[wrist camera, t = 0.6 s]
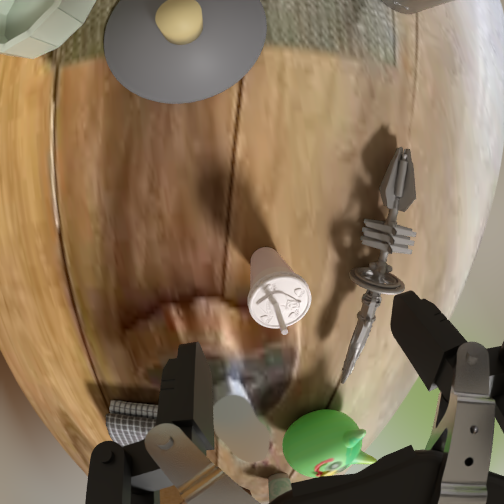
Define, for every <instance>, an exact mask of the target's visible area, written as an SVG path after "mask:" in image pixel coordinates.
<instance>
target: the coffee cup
mask: <svg viewBox="0 0 504 504" xmlns="http://www.w3.org/2000/svg"><path fill="white" fill-rule="evenodd" d="M268 483H269V503H270V502H271V501H272V500H274V499H275V498H276V497H278V496H279V495H281V494H283V493H285V492H287V491H289V490H291V489H292V487H291V482H290V479H289V477H288V474H286V473H278V474H274V475H271V476H270V477H269V478H268Z"/></svg>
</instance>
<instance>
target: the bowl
mask: <svg viewBox="0 0 504 504" xmlns="http://www.w3.org/2000/svg"><path fill="white" fill-rule="evenodd" d="M95 2H96V0H0V54H3V55H8V56H14V57H22V58H29V59H35V58H37V57H39V56H41V55H43V54H45V53H47V52H49V51H52V50H54V49H56V48H58V47H60V46H61V45H62V44H63V43H64V42H65V41H66V40H67V39H68V38H69V37H70V36H71V35H72V34H73V33H74V32H75V31H76V30H77V29H78V28H79V27H81V26H82V25H83V24H82V23H84V22H85V20H86V18H87V16H88V14H89V12H90V11H91V9H92V7H93V5H94V4H95Z"/></svg>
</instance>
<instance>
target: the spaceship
mask: <svg viewBox="0 0 504 504" xmlns="http://www.w3.org/2000/svg"><path fill="white" fill-rule="evenodd" d="M379 190H380V194H381V197H382V201H383V205H384V206H387V208H389V213H388V217H387V219H386V221H385V222H384V221H377V220H371V219H364V223H366V226H367V227H371V228H365V227H363V228H362V232H364V235H365V236H361V238H360V240H363V241H362V244H364V245H367V246H371V247H374V248H378V249H380V256H379V258H378V259H379V260H378V261H377V262H370V263H369V267H361V268H354V269H352V270H351V271H350V272H349V277H350V279H351V280H352V281H353V282H354V283H356V284H357V285H359V286H361V287H363V288H365V289H367V291H366V293H365V294H363V296H362V303H363V305H362V308H361V311H359V312H358V314H357V318H358V321H357V325H356V328H355V330H354V333H353V336H352V339H351V342H350V345H349V348H348V352H347V355H346V359H345V361H344V368H342V370H343V372H342V377H341V378H342V379H341V383H345V381H346V380H347V378H348V376H349V375H350V374H351V372H352V370H353V368H354V366H355V362H356V360H357V359H358V357H359V356H360V353H361V352H362V350H363V348H364V346H365V343H366V340H367V338H368V336H369V333H370V331H371V330H370V329H371V328H372V323H373V322H374V321H375V319H376V317H375V311H376V308H377V307H379V306H380V303H381V297H380V295H381V293H382V294H399V293H401V292H403V291H404V289H405V285H404V283H403V282H402V281H401V280H400V279H398V278H397V277H396V276H395V275H393V274H391V273H389V272H391V271H392V267H391V266H390V265H387V263H386V261H387V256H388V254H390V253H391V254H392V252H396V253H404V254H412V250H410V249H408V245H412V246H414V241H411V240H410V237H407V236H412V237H416V232H412V229H410V228H407V227H403V226H400V225H397V222H396V220H397V214H398V210H400V211H403V212H405V211H406V210H407V209H408V207H409V206H410V205H411V204H412V203H413V201H414V200H415V199H416V191H415V179H414V168H413V163H412V160H411V152H410V149H404V152H403V148H402V147H400V148H397V150H396V152H395V154H394V157H393V159H391V162H390V164H389V166H388V169H387V171H386V173H385V176H384V178H383V181H382V183H381V185H380V187H379ZM373 228H374V229H373ZM404 235H405V236H404ZM368 236H369V237H368ZM384 283H386V284H384ZM398 287H399V288H398ZM396 288H397V289H396Z"/></svg>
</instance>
